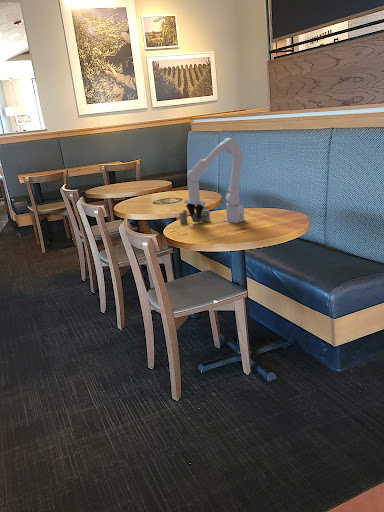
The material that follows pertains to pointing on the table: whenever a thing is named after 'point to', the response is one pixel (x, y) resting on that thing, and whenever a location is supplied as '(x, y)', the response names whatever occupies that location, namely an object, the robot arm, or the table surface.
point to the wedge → (195, 219)
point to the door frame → (184, 215)
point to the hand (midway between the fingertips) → (195, 217)
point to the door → (206, 213)
